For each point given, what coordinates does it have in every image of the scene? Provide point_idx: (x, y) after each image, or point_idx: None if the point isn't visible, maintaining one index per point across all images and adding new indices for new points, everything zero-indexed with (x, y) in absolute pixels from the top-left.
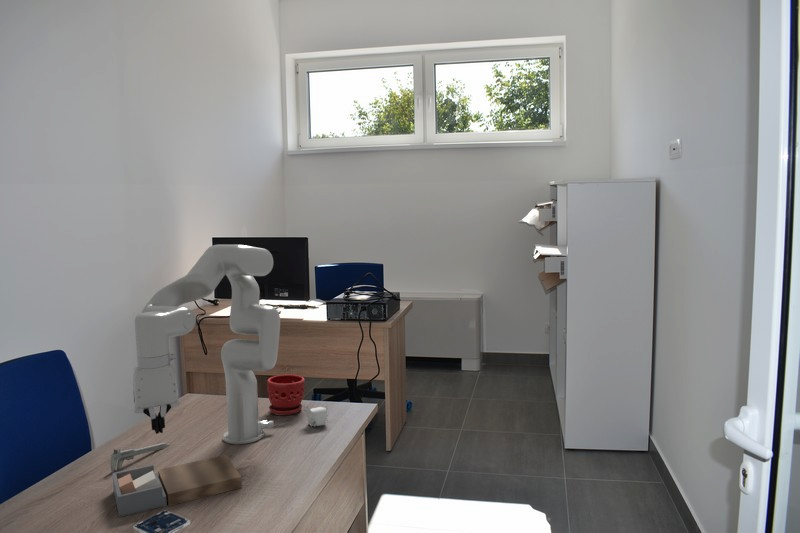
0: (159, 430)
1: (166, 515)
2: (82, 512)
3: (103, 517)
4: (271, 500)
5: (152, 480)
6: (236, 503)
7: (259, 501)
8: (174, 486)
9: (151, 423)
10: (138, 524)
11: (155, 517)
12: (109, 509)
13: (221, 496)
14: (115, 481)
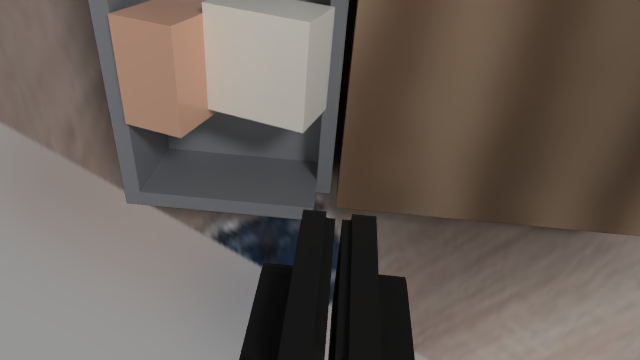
0: (332, 309)
1: None
2: (6, 23)
3: (102, 120)
4: (629, 328)
5: (287, 127)
6: (535, 288)
7: (598, 315)
8: (381, 158)
9: (253, 311)
10: (221, 233)
11: (277, 224)
12: None
13: None
14: (98, 22)
